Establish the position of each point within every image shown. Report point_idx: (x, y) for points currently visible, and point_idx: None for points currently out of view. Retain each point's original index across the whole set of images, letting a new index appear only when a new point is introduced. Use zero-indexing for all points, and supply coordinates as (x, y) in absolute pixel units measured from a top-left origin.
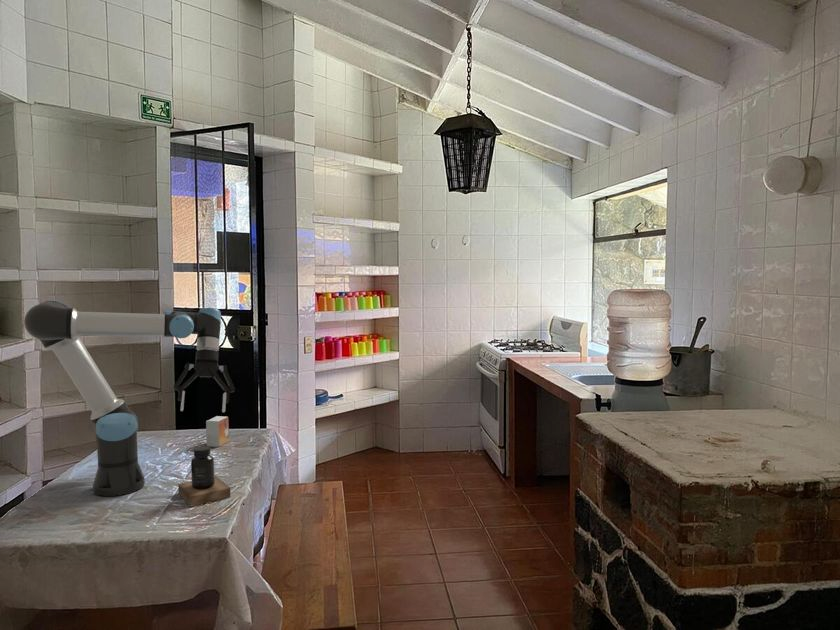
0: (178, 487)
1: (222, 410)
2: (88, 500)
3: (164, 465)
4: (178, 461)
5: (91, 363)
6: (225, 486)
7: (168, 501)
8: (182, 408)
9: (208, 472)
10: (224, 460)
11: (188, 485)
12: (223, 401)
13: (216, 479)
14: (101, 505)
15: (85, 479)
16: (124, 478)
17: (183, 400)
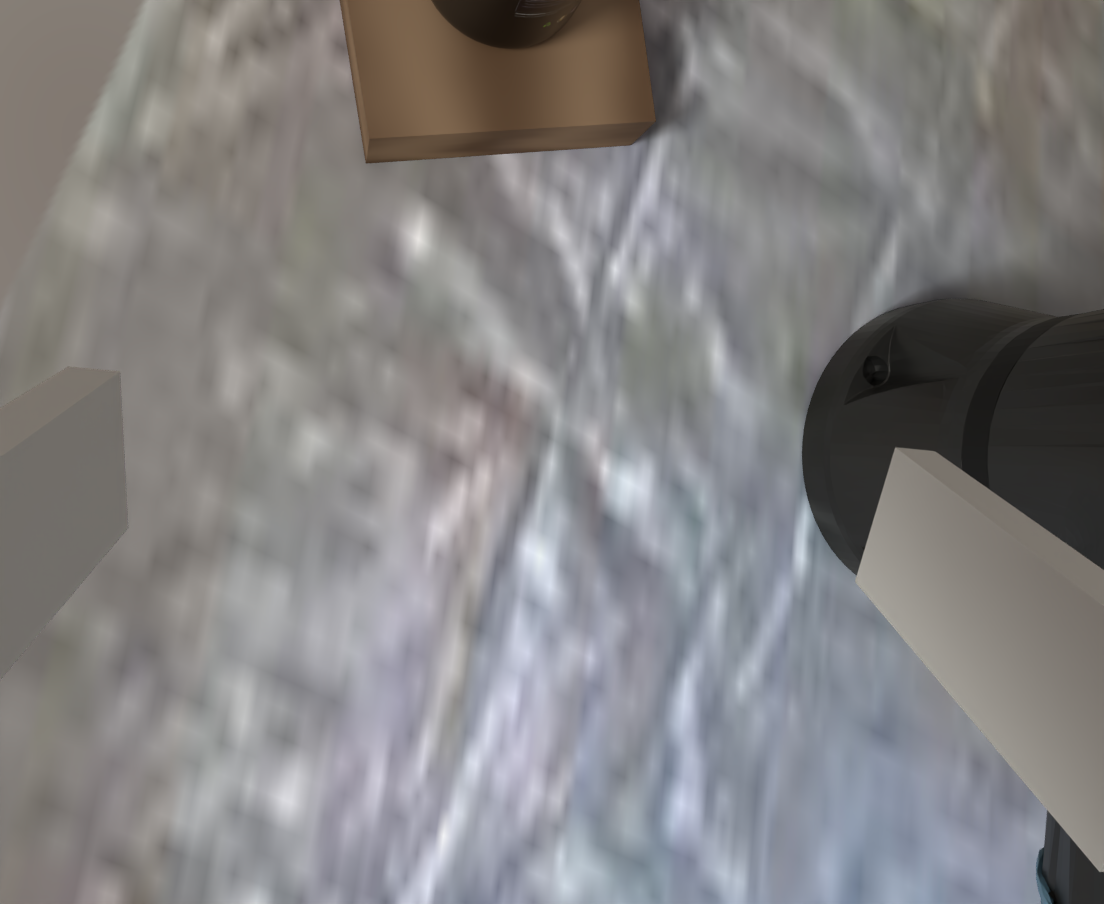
0: (646, 127)
1: (113, 480)
2: None
3: (649, 809)
4: (546, 871)
5: None
6: None
7: (702, 35)
8: (925, 458)
9: None
10: (184, 752)
11: (596, 45)
12: (8, 483)
13: (380, 51)
14: (1018, 202)
15: None
16: (983, 309)
17: (1016, 534)
